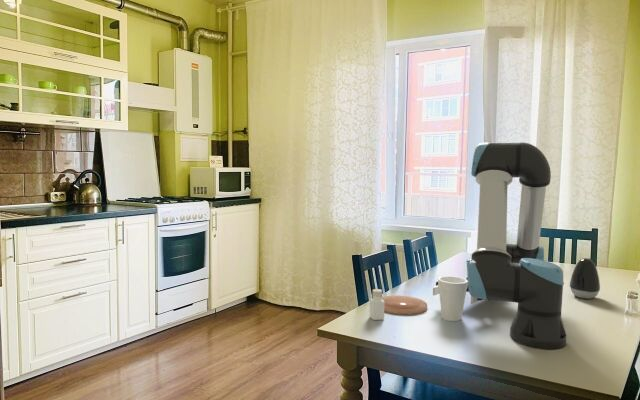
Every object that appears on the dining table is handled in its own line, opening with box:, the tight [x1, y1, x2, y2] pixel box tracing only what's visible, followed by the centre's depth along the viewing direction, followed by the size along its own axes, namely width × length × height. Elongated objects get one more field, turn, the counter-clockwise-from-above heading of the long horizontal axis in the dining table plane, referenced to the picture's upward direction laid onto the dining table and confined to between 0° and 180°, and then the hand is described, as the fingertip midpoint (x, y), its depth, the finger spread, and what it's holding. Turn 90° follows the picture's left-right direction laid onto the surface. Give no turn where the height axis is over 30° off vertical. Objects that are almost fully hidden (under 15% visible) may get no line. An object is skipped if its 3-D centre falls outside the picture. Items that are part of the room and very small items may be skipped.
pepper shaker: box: [369, 288, 385, 321], centre depth 153 cm, size 4×4×10 cm
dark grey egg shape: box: [569, 258, 601, 300], centre depth 180 cm, size 10×10×15 cm
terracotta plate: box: [382, 295, 428, 316], centre depth 166 cm, size 18×18×1 cm
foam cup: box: [437, 275, 468, 322], centre depth 155 cm, size 10×9×13 cm
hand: (452, 295), depth 155 cm, fingers open, 13 cm apart
